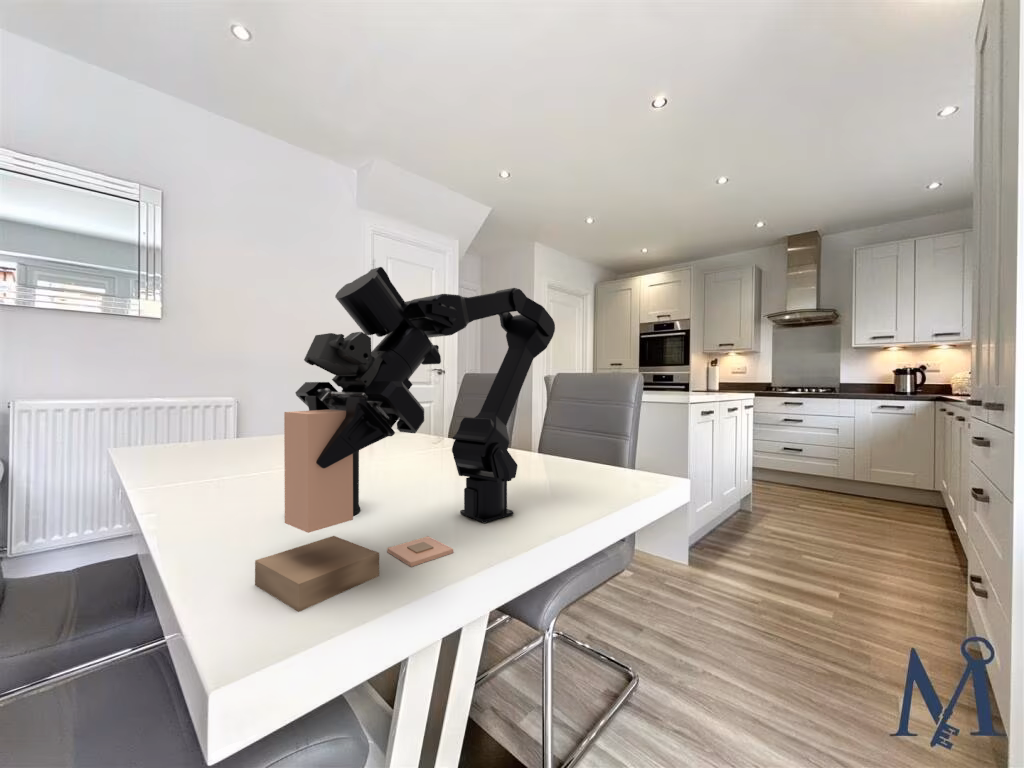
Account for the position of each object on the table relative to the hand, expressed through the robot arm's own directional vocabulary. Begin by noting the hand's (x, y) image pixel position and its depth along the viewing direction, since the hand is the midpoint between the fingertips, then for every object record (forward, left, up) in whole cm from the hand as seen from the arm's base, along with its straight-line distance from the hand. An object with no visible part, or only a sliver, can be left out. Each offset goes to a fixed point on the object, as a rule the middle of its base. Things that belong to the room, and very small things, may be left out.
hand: (306, 462), depth 44 cm
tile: (-13, +1, -13) cm, 19 cm away
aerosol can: (-11, -23, -13) cm, 29 cm away
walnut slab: (-1, 0, -13) cm, 13 cm away
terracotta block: (-1, 0, -7) cm, 7 cm away
